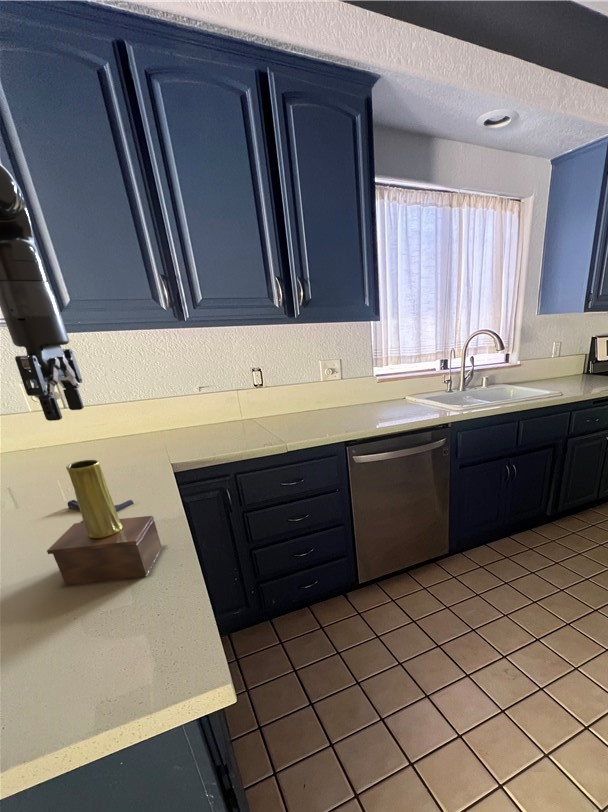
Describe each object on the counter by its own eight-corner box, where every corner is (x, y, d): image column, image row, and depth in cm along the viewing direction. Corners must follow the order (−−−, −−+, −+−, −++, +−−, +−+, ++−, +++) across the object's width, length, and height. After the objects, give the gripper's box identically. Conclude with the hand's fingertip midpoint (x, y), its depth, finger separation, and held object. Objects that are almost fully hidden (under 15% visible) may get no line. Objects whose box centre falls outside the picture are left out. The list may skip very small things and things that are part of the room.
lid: (48, 554, 79) (46, 550, 79) (75, 526, 90) (74, 523, 89) (137, 544, 82) (135, 541, 82) (153, 518, 92) (152, 515, 92)
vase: (110, 522, 89) (88, 457, 83) (129, 528, 87) (108, 461, 81) (80, 535, 84) (55, 466, 78) (100, 541, 82) (75, 471, 76)
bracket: (95, 499, 123) (92, 490, 122) (134, 505, 118) (131, 496, 117) (45, 520, 111) (41, 510, 110) (86, 528, 106) (82, 518, 105)
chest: (66, 588, 83) (52, 553, 80) (91, 557, 93) (79, 526, 90) (147, 578, 85) (137, 544, 82) (162, 550, 96) (153, 519, 92)
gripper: (30, 314, 74) (62, 408, 81) (-23, 314, 62) (20, 425, 69) (77, 313, 76) (105, 405, 83) (35, 313, 63) (71, 422, 70)
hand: (66, 414), depth 76 cm, fingers open, 8 cm apart
